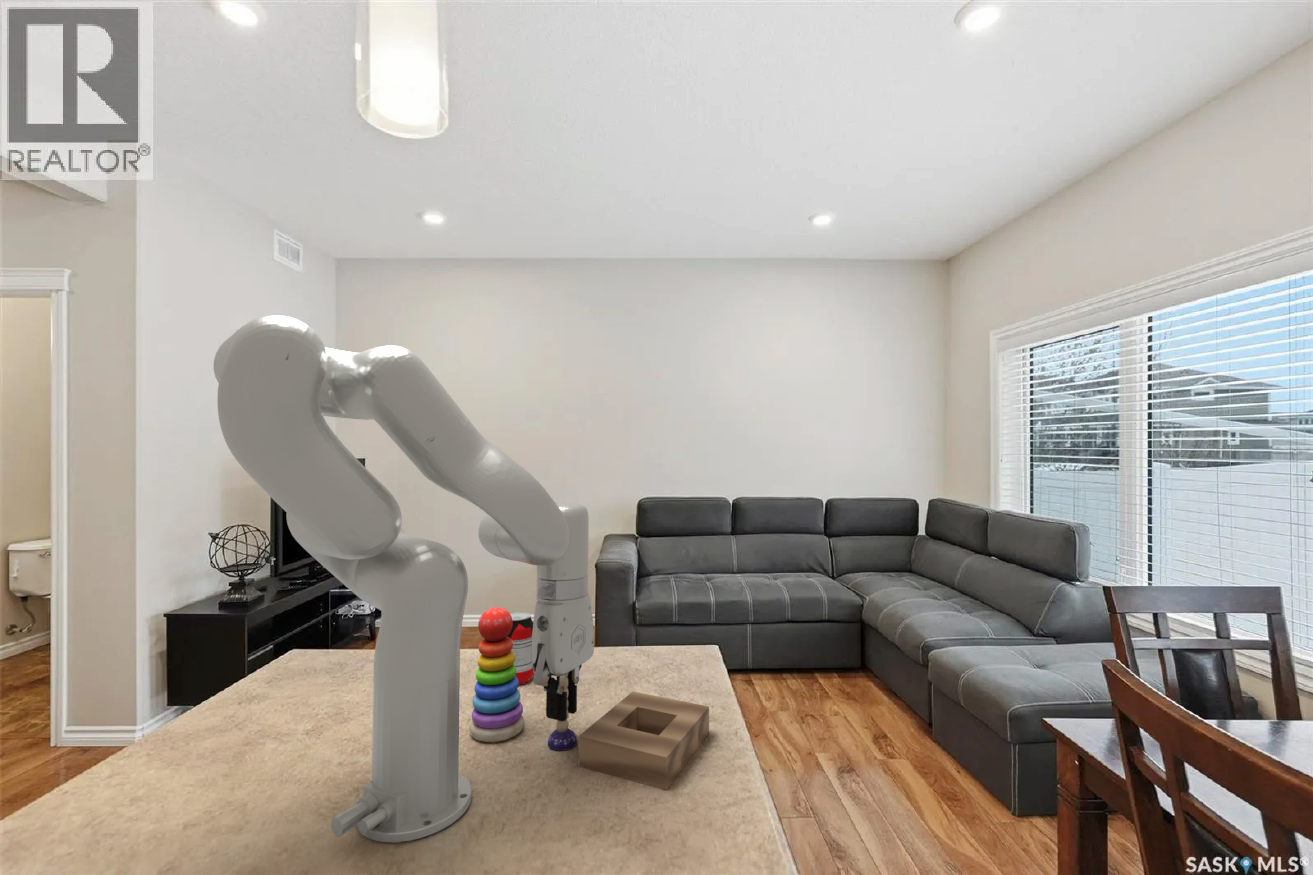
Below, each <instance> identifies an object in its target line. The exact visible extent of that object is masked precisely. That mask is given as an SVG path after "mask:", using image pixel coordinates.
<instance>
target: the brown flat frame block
mask: <svg viewBox="0 0 1313 875" xmlns="http://www.w3.org/2000/svg"><path fill="white" fill-rule="evenodd" d="M709 734H710V706H708V705H704V704H700V703H699V704H698V703H695V702H694V703H693V702H690V701H689V702H688V701H684V700H683V701H682V700H677V699H673V698H667V697H662V696H657V695H652V694H649V693H648V694H646V693H643V692H638V691H631V692H630V693H628V695H627V696H625V697H624V698H623V699H622V700H620V701H618V703H617V704H616V705H614V706H613V707H612V708H610V710H608V711H607V712H606V713H605V714H604V715H603V716H601V717H600V718H599V719H598V720H596V721H595V722H594V723H592V724H591V725H590V726H589V727H588V728H587V729H585V730H584V731H582V732H581V733H580V734H579V735H578V767H581V768H584V769H588V770H592V771H596V772H600V773H603V774H607V775H610V776H615V777H617V778H622V779H626V780H628V781H629V780H630V781H632V782H636V783H641V784H644V785H648V786H650V787H655V788H657V789H662V790H666V791H667V790H668V789H669V787H670V786H671V785H672V783H673V781H675V779H676V778H677V777H678V775H679V774H680V773H681V771H682V770H683V769H684V767H685V766H686V765H687V764H688V762H689V761H690V760H691V758H692V757H693V755H694V754H695V752H696V751H697V750H698V749H699V747H700V746H701V745H702V744H703V742H704V741H705V739H706V738H707V737H708V736H709Z"/></svg>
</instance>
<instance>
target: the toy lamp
mask: <svg viewBox="0 0 1313 875" xmlns="http://www.w3.org/2000/svg"><path fill="white" fill-rule="evenodd" d="M567 676H568V673H567V674H565V675H564V692H567V698H568V694H569V693H568V688H567V687H568V678H567ZM556 681H557V679H556ZM567 708H568V699H567ZM568 719H569V713H568V709H567V719H566V720H565V721H559V720H556V723H555V727H556V729H555V730H553V731H552V733H551V734H550V735H549V737H548V740H547V747H548V748H549V749H551V750H552V751H553V750H554V751H568V750H571V749H572V748H574V747H575V746H576V745H577V744H578V737H577V735H576V733H575V731H574V730H572V729H571V728H569V720H568Z"/></svg>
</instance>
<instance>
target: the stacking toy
mask: <svg viewBox="0 0 1313 875" xmlns="http://www.w3.org/2000/svg"><path fill="white" fill-rule="evenodd" d="M510 613H511V612H509V611H508V610H507V609H505V608H503V607H499V606H498V607H497V606H495V607H491V608H488V609H487V610H485V611H484V612H483V613H482V614H481V616H480V618H479V620H478V625H477V626H478V631H479V632H478V633H479V634H480V635H481V637H482V638H483V640H481V641H480V643H479V645H478V651H479V654H481V655H479V657H478V660H477V666H478V668H477V669H476V671H475V680H476V682H475V685H474V692H475V694H474V696H473V698H472V706H473V710H472V712H471V722H470V725H469V732H470V734H471V736H472V737H473V738H474V739H475V740H478V741H481V742H484V743H485V742H486V743H487V742H488V743H496V742H502V741H505V740H509V739H511V738H513V737H515V736H517V735H518V734H519V733H520V732H521V731H522V730H523V728H524V726H525V718H524V716H523V712H524V707H523V706H524V705H523V704H522V702H521V701H520V700H521V693H520V690H519V689H518V688H519V686H520V685H519V682H518V679H517V677H516V676H515V675H516V667H515V665H514V664H513V663H514V662H515V655H514V653H513V652H512V651H511V650H512V648H513V641H512V640H511V639H510V638H509V637H507V636H508V635H509V633H510V631H511V629H512V626H513V620H512V616H511V615H510Z"/></svg>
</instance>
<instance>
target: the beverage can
mask: <svg viewBox="0 0 1313 875" xmlns="http://www.w3.org/2000/svg"><path fill="white" fill-rule="evenodd" d="M509 613H510V615H511V616H512V620H513V626H512V629H511V631H510V633H509V635H508V636H507V637H509V638H510V639H511V640H512V641H513V648H512V650H511V651H512V652H513V653H514V655H515V662H514V663H513V664H514V665H515V667H516V675H515V676H516V677H517V679H518V682H519V684H521V685H524V684H526V683H528V682H529V681H530V680H531V679H532V678H533V677H534V675H535V671H534V670H533V668H532V660H531V647H532V630H533V620H532V615H531V613H529V612H524V611H516V612H509ZM527 681H528V682H527ZM525 682H526V683H525ZM523 683H524V684H523Z"/></svg>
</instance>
